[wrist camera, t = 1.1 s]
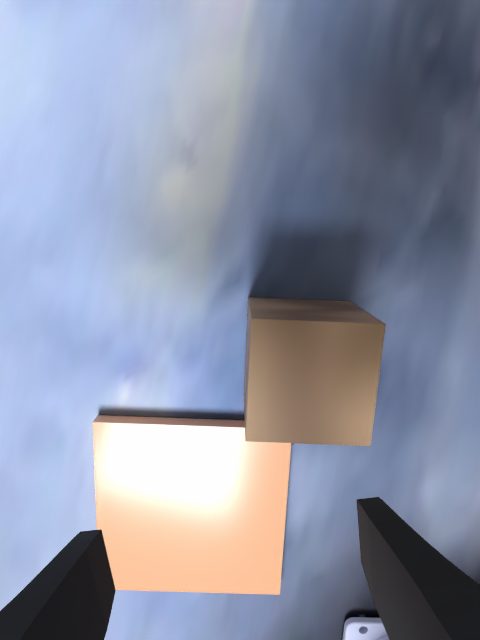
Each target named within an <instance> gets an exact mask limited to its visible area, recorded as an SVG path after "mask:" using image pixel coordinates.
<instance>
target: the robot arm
mask: <svg viewBox="0 0 480 640" xmlns="http://www.w3.org/2000/svg"><path fill="white" fill-rule="evenodd" d="M357 511H358V524H359V538H360V551H361V563H362V566H363V569H364V573H365V576H366V579H367V582H368V586H369V589H370V592H371V595H372V598H373V602H374V604H375V606H376V609H377V611H378V614H379V616H380V618H366V617H351V618H349V619H347V620H346V621H345V624H344V632H343V640H480V585H479V584H478V583H477V582H475V581H474V580H473V579H471V578H470V577H469V576H468V575H466V574H465V573H464V572H462V571H461V570H460V569H459V568H457V567H456V566H455V565H454V564H452V563H451V562H450V561H449V560H448V559H446V558H445V557H444V556H443V555H442V554H440V553H439V552H438V551H437V550H436V549H435V548H433V547H432V546H431V545H430V544H429V543H428V542H427V541H425V540H424V539H423V538H422V537H421V536H420V535H419V534H418V533H416V532H415V531H414V530H413V529H412V528H411V527H410V526H409V525H408V524H407V523H406V522H405V521H404V520H402V519H401V518H400V517H399V516H398V515H397V514H396V513H395V512H394V511H393V510H392V509H391V508H390V507H389V506H388V505H387V504H386V503H385V502H384V501H383V500H382V499H380V498H379V497H375V498H366V499H358V500H357ZM114 595H115V585H114V581H113V577H112V572H111V568H110V564H109V560H108V555H107V551H106V547H105V542H104V538H103V534H102V530H101V529H100V530H92V531H83V532H80V533H79V534H77V535H76V536H75V537H74V538H73V539H72V540H71V541H70V542H69V543H68V544H67V545H66V546H65V547H64V548H63V549H62V550H61V551H60V552H59V553H58V555H57V556H56V557H55V558H54V559H53V560H52V561H51V562H50V563H49V564H48V565H47V566H46V567H45V568H44V569H43V570H42V571H41V572H40V573H39V574H38V575H37V576H36V577H35V578H34V579H33V580H32V581H31V582H30V583H29V584H28V585H27V586H26V587H25V588H24V589H23V590H22V591H21V592H20V593H19V594H18V595H17V596H16V597H15V598H14V599H13V600H12V601H11V602H10V603H8V604H7V605H6V606H5V607H4V608H3V609H2V610H1V611H0V640H104V637H105V634H106V631H107V627H108V622H109V618H110V614H111V609H112V604H113V600H114ZM363 626H364V627H363Z"/></svg>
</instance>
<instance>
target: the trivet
mask: <svg viewBox="0 0 480 640" xmlns="http://www.w3.org/2000/svg"><path fill="white" fill-rule="evenodd" d="M93 445H94V471H95V497H96V524H97V530H100V529H101V530H102V534H103V538H104V542H105V547H106V551H107V555H108V560H109V564H110V568H111V572H112V577H113V581H114V585H115V590H140V591H174V592H208V593H242V594H276V595H280V585H281V572H282V558H283V545H284V532H285V519H286V506H287V493H288V480H289V466H290V453H291V443H277V442H250V441H245V420H218V419H190V418H162V417H135V416H107V415H98V416H97V417H96V418H95V420H94V421H93Z"/></svg>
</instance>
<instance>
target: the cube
mask: <svg viewBox="0 0 480 640" xmlns="http://www.w3.org/2000/svg"><path fill="white" fill-rule="evenodd" d="M385 325H386V324H385V323H383V322H381V321H380V320H378V319H377V318H375V317H374V316H372V315H371V314H369V313H368V312H366V311H364V310H363V309H361V308H360V307H358V306H357V305H355V304H354V303H352V302H350V301H331V300H307V299H283V298H259V297H248V314H247V335H246V356H245V377H244V415H245V441H250V442H277V443H304V444H331V445H358V446H371V438H372V430H373V422H374V414H375V405H376V397H377V389H378V381H379V373H380V365H381V357H382V349H383V341H384V333H385Z"/></svg>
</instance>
